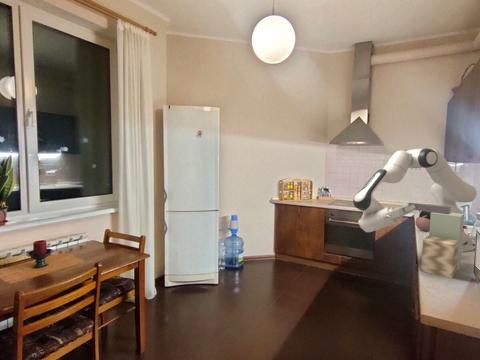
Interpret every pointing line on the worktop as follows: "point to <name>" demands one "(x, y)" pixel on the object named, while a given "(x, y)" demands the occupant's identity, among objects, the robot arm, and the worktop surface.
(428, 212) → the squash
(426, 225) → the pink toy umbrella
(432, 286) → the worktop surface
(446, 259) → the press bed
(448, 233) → the column
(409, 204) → the lever bar
